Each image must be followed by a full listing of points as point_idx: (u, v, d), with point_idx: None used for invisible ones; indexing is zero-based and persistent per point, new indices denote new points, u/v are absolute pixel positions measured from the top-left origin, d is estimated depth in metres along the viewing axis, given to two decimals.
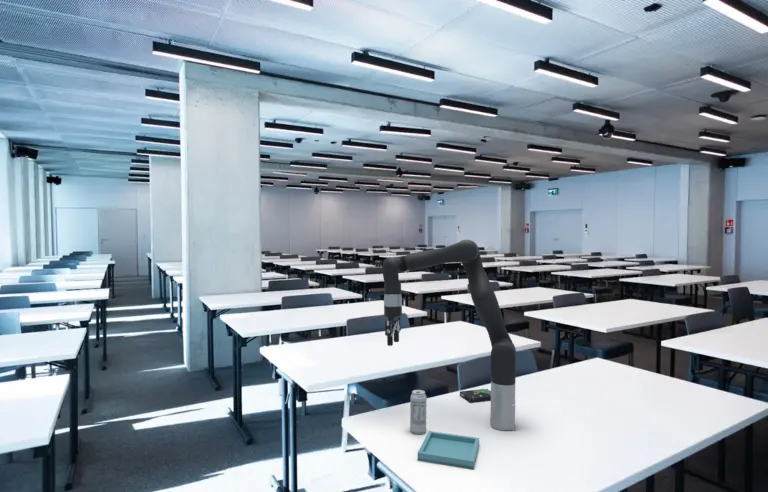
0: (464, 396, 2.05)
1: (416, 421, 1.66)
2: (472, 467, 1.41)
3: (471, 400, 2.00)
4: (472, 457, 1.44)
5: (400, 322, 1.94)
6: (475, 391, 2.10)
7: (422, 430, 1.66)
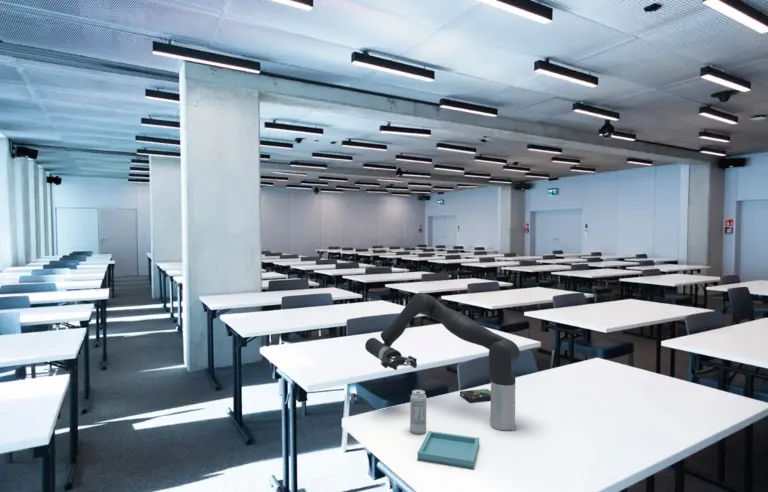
0: (464, 396, 2.06)
1: (416, 421, 1.66)
2: (472, 467, 1.41)
3: (471, 400, 2.01)
4: (472, 457, 1.44)
5: (412, 357, 1.89)
6: (475, 391, 2.10)
7: (422, 430, 1.66)
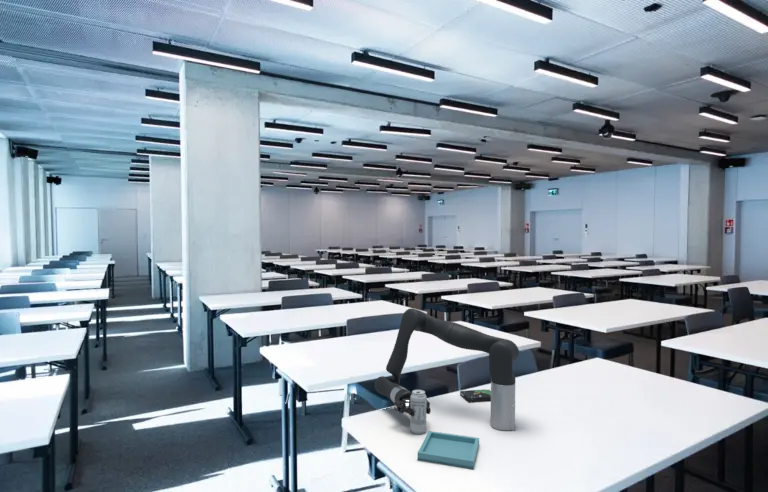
0: (463, 396, 2.06)
1: (416, 421, 1.66)
2: (472, 467, 1.41)
3: (469, 400, 2.01)
4: (472, 457, 1.44)
5: None
6: (476, 391, 2.10)
7: (422, 430, 1.66)
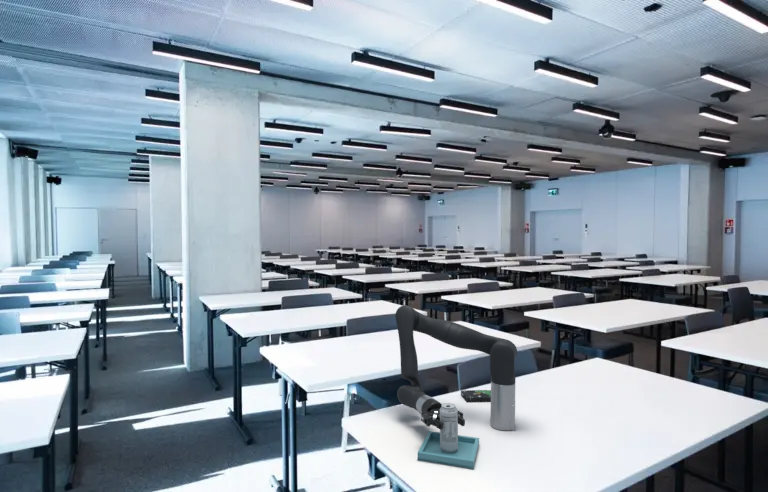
0: (463, 395, 2.06)
1: (447, 438, 1.50)
2: (472, 467, 1.41)
3: (468, 399, 2.01)
4: (472, 457, 1.44)
5: (457, 410, 1.60)
6: (476, 391, 2.10)
7: (454, 448, 1.50)
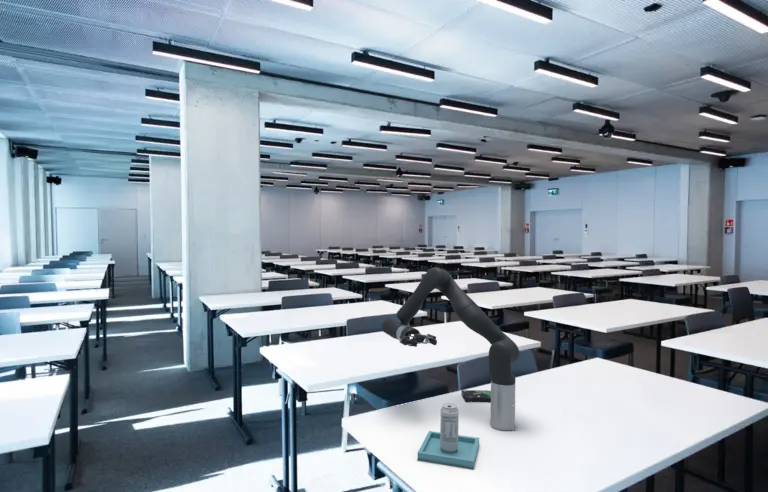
0: (463, 395, 2.07)
1: (447, 438, 1.50)
2: (472, 467, 1.41)
3: (466, 399, 2.01)
4: (472, 457, 1.44)
5: (431, 335, 1.85)
6: (477, 391, 2.09)
7: (454, 448, 1.50)
